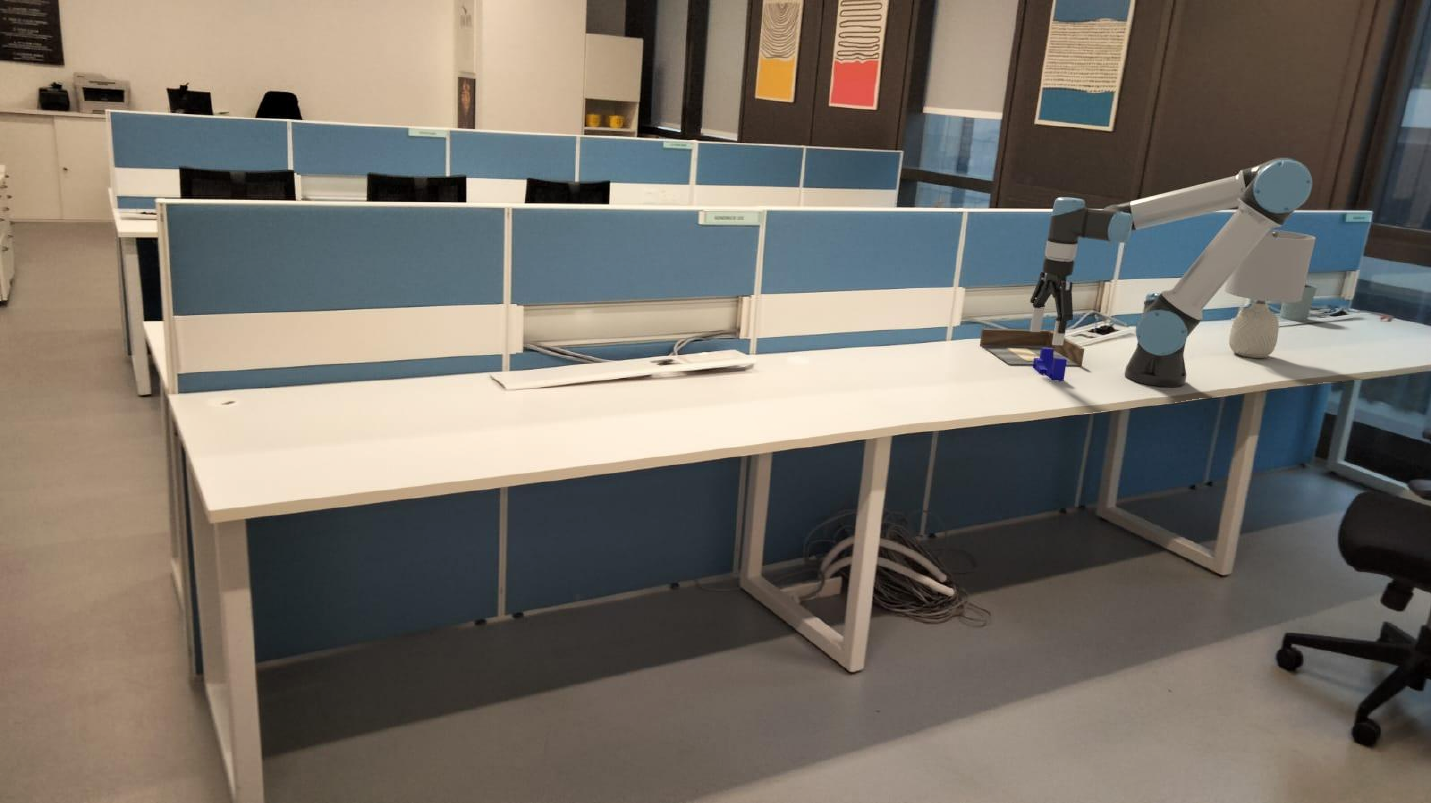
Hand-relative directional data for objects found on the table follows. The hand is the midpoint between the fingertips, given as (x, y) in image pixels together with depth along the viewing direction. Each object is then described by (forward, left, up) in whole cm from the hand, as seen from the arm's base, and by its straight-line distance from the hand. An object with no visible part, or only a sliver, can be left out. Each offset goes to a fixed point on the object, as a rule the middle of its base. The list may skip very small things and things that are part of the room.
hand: (1045, 338), depth 275 cm
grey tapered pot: (+75, -128, -10) cm, 149 cm away
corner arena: (+18, -4, -10) cm, 21 cm away
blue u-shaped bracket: (0, -2, -10) cm, 10 cm away
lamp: (+23, -76, -10) cm, 80 cm away
